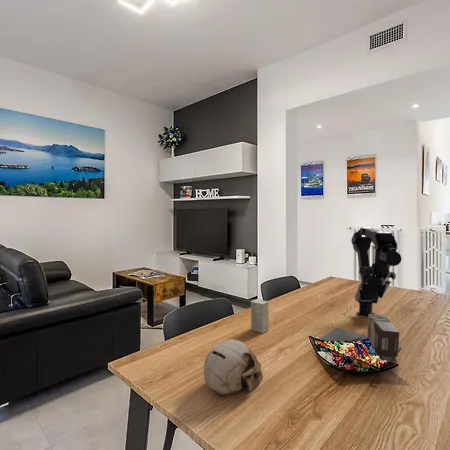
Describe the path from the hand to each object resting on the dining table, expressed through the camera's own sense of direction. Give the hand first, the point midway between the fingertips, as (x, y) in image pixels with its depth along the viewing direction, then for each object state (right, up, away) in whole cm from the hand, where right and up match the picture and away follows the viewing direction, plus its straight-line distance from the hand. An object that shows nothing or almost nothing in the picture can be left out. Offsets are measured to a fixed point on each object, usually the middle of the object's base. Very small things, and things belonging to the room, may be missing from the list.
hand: (380, 297), depth 126 cm
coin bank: (-63, -15, -40) cm, 76 cm away
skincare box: (-52, -13, -3) cm, 53 cm away
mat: (-17, -14, -16) cm, 28 cm away
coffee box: (-7, -9, -10) cm, 15 cm away
